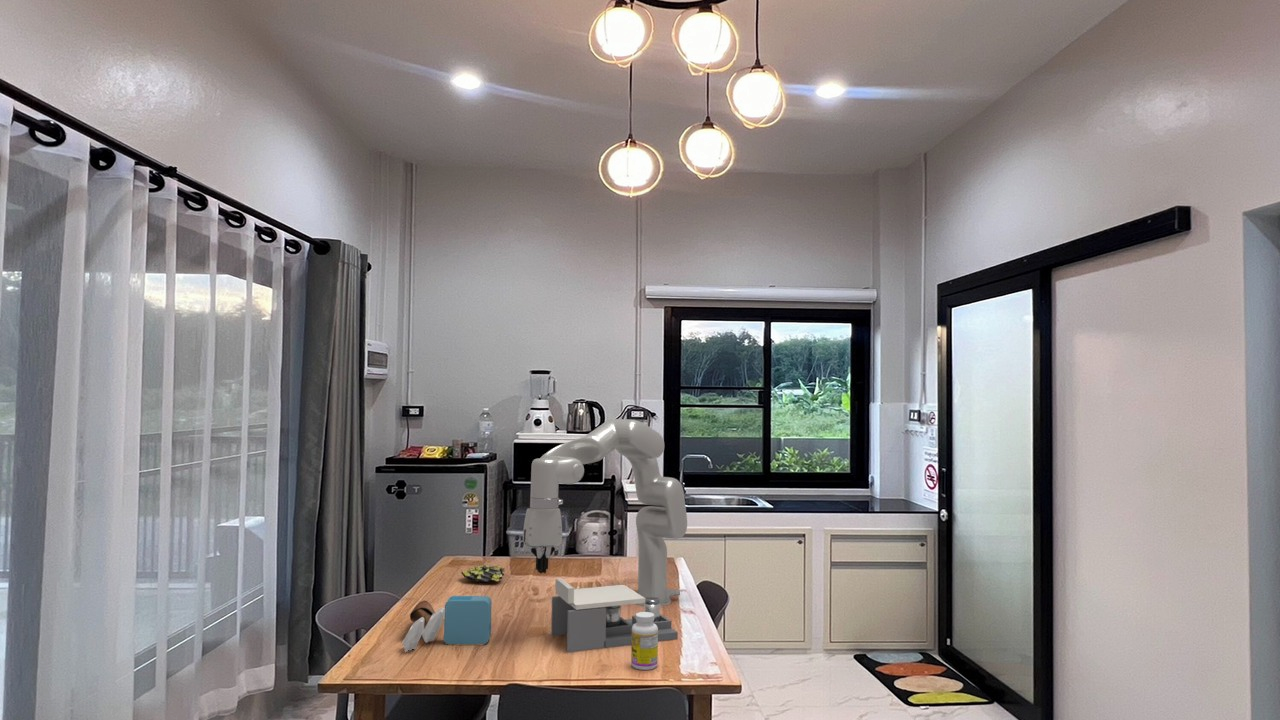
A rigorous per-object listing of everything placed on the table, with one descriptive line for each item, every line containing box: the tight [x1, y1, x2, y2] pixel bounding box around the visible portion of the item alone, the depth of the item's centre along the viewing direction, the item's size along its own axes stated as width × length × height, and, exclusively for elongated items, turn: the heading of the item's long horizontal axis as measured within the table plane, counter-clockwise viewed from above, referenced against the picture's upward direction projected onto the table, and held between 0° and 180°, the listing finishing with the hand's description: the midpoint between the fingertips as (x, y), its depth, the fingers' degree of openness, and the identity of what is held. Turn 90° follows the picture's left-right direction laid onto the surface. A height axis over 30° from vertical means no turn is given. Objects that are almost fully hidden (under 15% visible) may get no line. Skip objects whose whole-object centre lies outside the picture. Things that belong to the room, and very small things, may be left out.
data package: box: [443, 595, 493, 646], centre depth 203 cm, size 12×4×12 cm, turn 93°
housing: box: [550, 595, 679, 654], centre depth 210 cm, size 32×16×11 cm, turn 113°
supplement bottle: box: [630, 611, 659, 671], centre depth 187 cm, size 7×7×13 cm
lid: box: [554, 577, 645, 610], centre depth 208 cm, size 22×16×5 cm
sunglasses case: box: [409, 600, 436, 629], centre depth 212 cm, size 18×7×7 cm, turn 11°
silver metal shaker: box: [643, 597, 661, 622], centre depth 214 cm, size 4×4×8 cm
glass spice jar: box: [606, 605, 622, 628], centre depth 209 cm, size 4×4×8 cm
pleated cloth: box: [461, 564, 506, 583], centre depth 277 cm, size 20×16×7 cm
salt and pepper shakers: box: [401, 607, 445, 653], centre depth 198 cm, size 12×4×11 cm
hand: (541, 572), depth 202 cm, fingers closed
